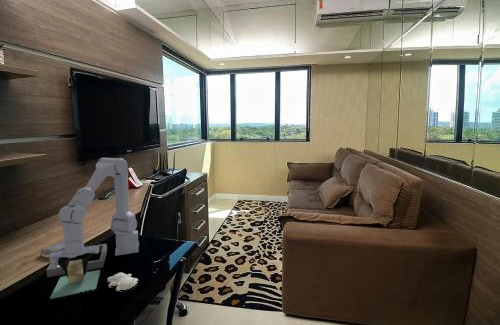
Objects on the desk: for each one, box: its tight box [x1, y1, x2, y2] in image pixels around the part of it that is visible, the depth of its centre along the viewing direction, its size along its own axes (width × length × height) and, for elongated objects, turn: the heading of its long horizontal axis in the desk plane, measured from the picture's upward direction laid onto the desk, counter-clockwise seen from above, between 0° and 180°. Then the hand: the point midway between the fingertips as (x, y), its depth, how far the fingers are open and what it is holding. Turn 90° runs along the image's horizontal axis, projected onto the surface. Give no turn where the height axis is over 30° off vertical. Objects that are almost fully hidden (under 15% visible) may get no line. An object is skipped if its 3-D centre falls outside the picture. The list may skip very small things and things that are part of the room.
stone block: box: [40, 240, 65, 255], centre depth 117 cm, size 12×5×10 cm
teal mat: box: [49, 269, 101, 300], centre depth 93 cm, size 13×13×1 cm
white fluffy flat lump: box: [106, 272, 139, 292], centre depth 94 cm, size 9×12×3 cm
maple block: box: [67, 258, 85, 283], centre depth 93 cm, size 4×4×6 cm
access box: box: [46, 243, 108, 278], centre depth 108 cm, size 18×16×3 cm
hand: (76, 274), depth 93 cm, fingers closed on maple block, 4 cm apart
